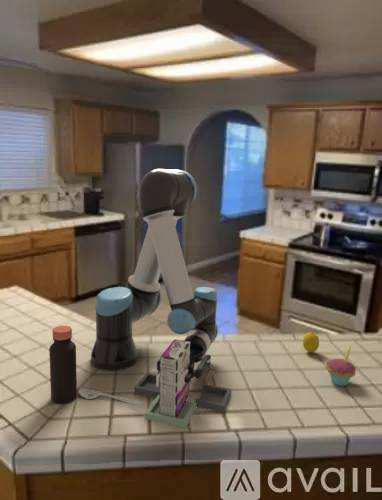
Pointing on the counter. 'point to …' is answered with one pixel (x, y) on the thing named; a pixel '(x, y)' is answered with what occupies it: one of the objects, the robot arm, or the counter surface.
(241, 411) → the counter surface
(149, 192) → the robot arm
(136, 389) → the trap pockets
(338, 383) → the cupcake
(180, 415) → the green square tray
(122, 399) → the spoon
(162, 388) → the candy bar box
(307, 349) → the lemon
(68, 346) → the bottle
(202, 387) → the lane rails
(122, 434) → the counter surface
